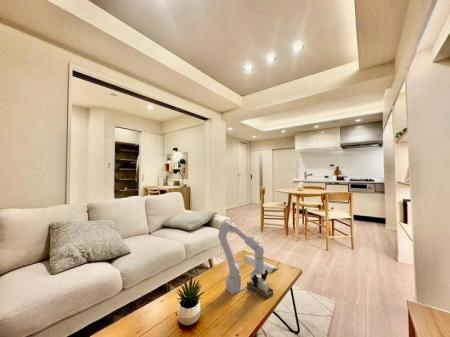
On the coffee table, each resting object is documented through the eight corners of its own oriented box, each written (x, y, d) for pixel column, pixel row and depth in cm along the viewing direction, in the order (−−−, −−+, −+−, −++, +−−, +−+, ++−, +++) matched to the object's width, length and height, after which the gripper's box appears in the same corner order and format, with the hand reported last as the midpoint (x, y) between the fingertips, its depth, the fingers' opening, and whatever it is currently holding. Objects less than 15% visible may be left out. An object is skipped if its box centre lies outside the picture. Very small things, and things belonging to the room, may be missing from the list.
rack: (265, 298, 112) (265, 294, 112) (247, 286, 125) (246, 282, 125) (273, 294, 116) (273, 289, 116) (254, 282, 129) (254, 278, 129)
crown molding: (279, 269, 146) (278, 264, 146) (269, 274, 139) (268, 270, 139) (251, 256, 169) (251, 252, 169) (241, 261, 161) (241, 256, 161)
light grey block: (265, 294, 115) (264, 284, 115) (251, 285, 124) (250, 276, 124) (268, 292, 117) (268, 282, 117) (254, 283, 126) (254, 274, 126)
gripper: (255, 269, 113) (256, 292, 113) (271, 262, 122) (272, 283, 122) (247, 264, 119) (248, 286, 118) (263, 258, 127) (263, 278, 127)
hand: (259, 284), depth 120 cm, fingers open, 7 cm apart
